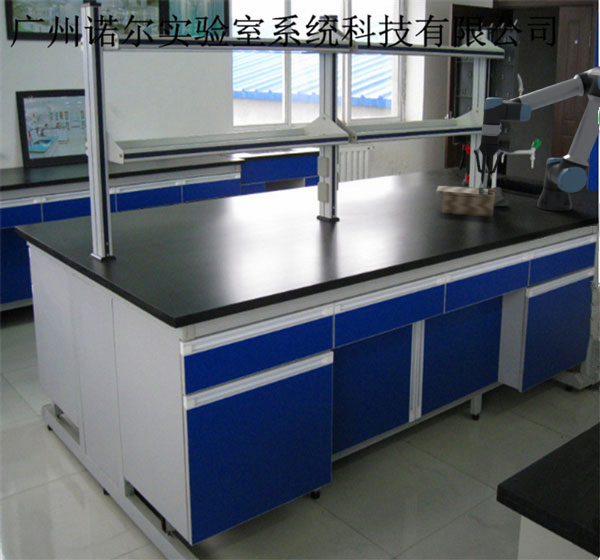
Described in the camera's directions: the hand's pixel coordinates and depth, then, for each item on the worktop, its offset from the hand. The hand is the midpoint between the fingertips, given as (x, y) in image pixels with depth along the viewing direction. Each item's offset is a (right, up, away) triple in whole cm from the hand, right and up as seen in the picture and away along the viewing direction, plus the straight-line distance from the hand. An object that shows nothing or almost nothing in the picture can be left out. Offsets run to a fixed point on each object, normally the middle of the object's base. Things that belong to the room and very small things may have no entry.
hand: (484, 188), depth 315 cm
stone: (+9, -6, +17) cm, 20 cm away
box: (-6, -10, +5) cm, 13 cm away
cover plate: (-9, -1, +3) cm, 10 cm away
